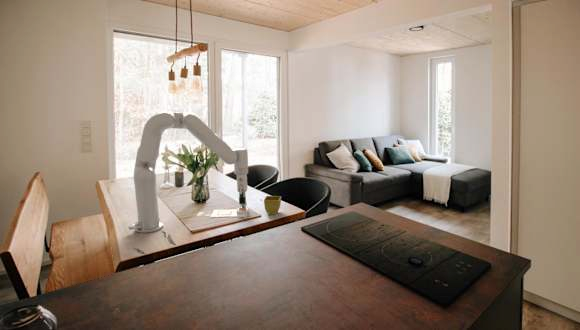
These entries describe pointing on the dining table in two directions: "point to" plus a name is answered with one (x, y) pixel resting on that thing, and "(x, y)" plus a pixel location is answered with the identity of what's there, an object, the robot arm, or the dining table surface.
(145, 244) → the dining table surface
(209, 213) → the coaster
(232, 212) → the board
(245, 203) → the marker
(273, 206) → the flower pot
